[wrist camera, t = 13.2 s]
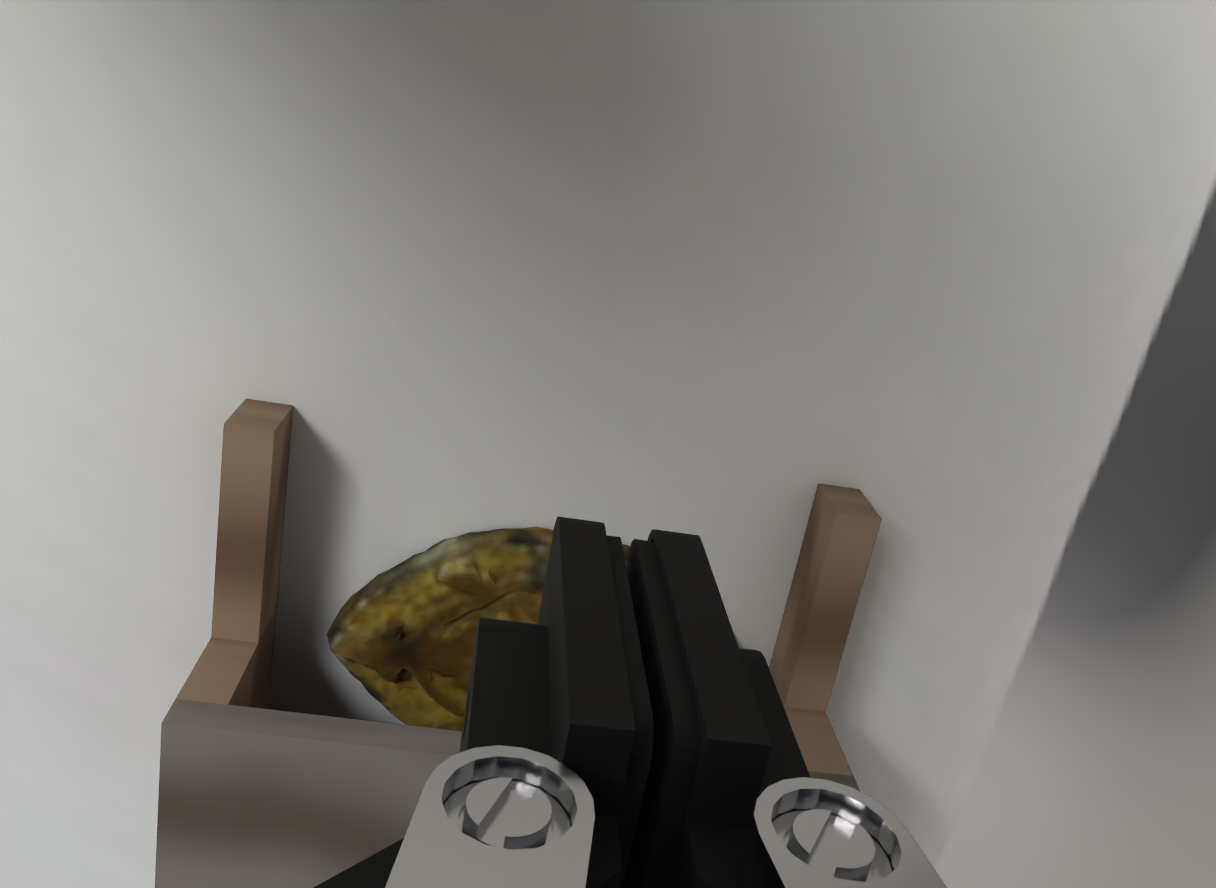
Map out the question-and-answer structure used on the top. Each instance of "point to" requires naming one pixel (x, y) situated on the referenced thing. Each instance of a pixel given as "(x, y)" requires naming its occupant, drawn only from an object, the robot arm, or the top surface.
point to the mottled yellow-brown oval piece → (439, 619)
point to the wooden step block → (384, 752)
